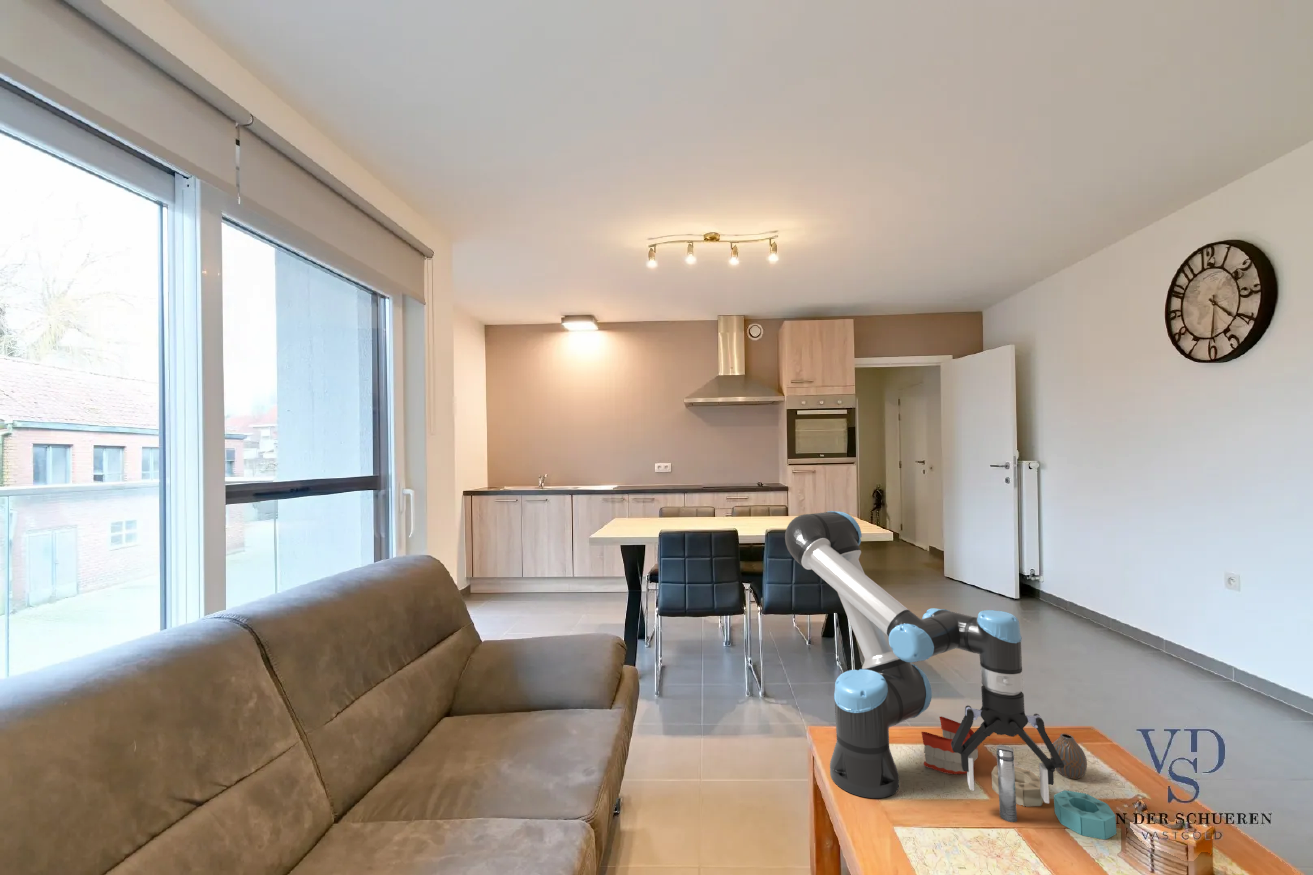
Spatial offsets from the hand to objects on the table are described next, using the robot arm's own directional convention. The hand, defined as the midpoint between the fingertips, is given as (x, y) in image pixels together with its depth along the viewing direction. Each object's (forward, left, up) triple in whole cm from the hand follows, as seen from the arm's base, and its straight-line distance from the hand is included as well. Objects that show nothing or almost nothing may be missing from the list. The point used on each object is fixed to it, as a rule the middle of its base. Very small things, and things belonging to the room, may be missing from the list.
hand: (1007, 792), depth 113 cm
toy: (-7, +18, -5) cm, 20 cm away
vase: (+17, +22, -5) cm, 28 cm away
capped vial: (0, 0, -5) cm, 5 cm away
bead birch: (+4, +10, -5) cm, 12 cm away
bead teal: (+14, +3, -5) cm, 15 cm away
